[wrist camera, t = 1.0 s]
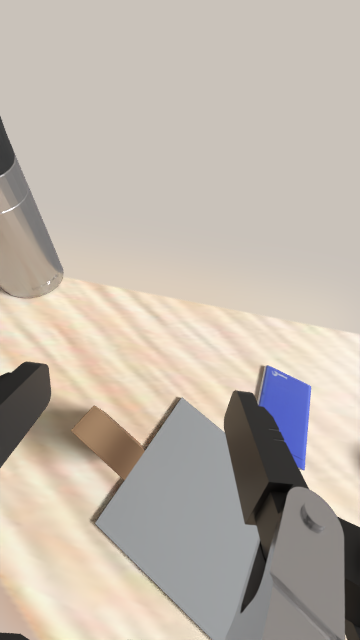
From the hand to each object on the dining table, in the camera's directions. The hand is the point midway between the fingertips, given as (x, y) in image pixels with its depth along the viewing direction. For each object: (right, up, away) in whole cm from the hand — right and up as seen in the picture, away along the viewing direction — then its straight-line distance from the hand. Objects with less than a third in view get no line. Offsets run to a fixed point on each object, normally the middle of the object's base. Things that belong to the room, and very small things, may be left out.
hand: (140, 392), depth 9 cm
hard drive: (+17, -12, +24) cm, 32 cm away
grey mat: (+4, -19, +16) cm, 25 cm away
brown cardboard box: (-7, -12, +17) cm, 22 cm away
